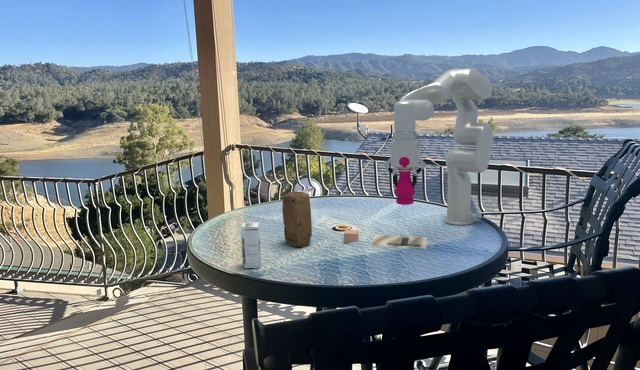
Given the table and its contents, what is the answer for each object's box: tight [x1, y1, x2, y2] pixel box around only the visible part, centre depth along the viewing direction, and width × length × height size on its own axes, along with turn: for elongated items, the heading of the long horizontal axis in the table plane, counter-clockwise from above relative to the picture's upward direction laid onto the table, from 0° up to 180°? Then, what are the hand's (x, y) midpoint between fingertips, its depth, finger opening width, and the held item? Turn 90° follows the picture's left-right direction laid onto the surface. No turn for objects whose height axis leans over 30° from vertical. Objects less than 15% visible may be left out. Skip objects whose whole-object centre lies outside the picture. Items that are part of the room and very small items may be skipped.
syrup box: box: [240, 221, 262, 269], centre depth 157 cm, size 6×6×14 cm
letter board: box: [370, 234, 428, 249], centre depth 176 cm, size 20×13×1 cm, turn 75°
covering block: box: [343, 229, 359, 244], centre depth 180 cm, size 5×5×4 cm
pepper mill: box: [394, 157, 416, 206], centre depth 171 cm, size 7×7×20 cm
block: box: [281, 190, 313, 248], centre depth 178 cm, size 11×8×20 cm
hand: (404, 185), depth 171 cm, fingers closed on pepper mill, 5 cm apart
